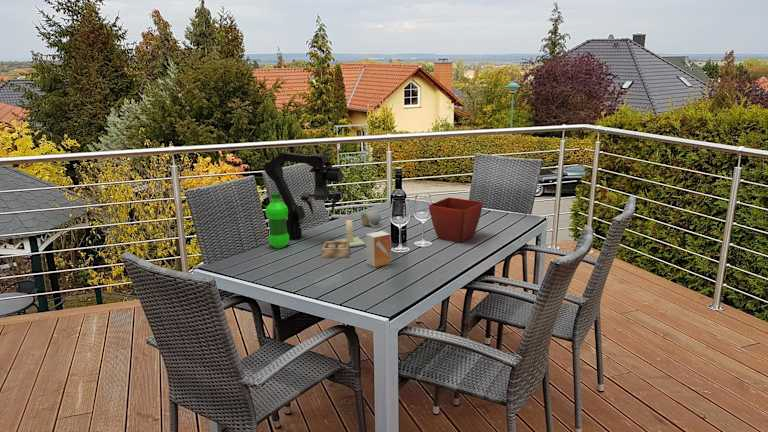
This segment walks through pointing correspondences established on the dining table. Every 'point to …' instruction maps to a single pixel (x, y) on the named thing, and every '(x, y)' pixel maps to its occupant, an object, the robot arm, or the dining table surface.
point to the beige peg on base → (351, 236)
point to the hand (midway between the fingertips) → (322, 213)
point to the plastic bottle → (277, 222)
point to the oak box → (336, 249)
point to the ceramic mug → (371, 218)
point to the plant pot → (455, 218)
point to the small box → (378, 248)
